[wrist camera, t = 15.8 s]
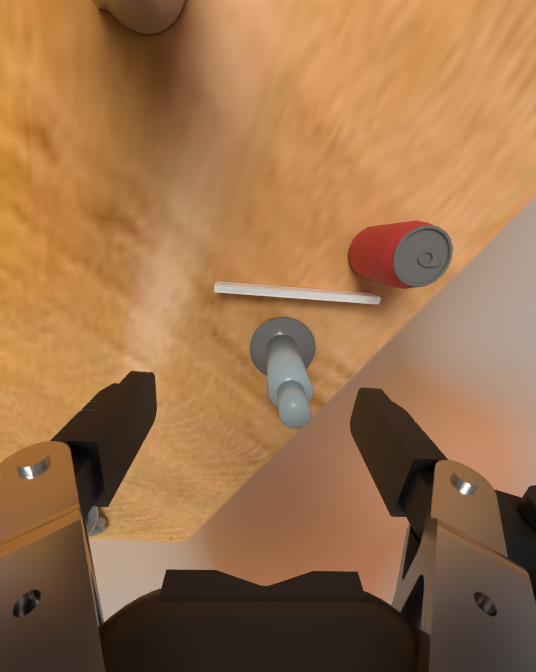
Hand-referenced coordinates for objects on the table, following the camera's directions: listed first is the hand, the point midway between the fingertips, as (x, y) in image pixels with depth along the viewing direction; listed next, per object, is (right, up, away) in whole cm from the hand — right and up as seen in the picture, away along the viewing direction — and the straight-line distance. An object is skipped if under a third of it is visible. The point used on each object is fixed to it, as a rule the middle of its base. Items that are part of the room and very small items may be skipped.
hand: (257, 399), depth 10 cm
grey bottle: (+2, 0, +29) cm, 29 cm away
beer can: (+15, +14, +25) cm, 32 cm away
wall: (+4, +9, +27) cm, 28 cm away
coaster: (+3, +1, +30) cm, 30 cm away
